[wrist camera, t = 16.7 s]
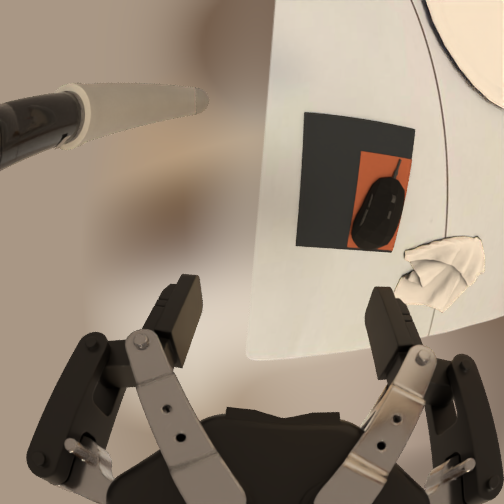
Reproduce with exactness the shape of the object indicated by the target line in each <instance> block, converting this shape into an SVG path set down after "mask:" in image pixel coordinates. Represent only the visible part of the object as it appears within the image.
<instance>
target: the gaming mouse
mask: <svg viewBox="0 0 504 504" xmlns="http://www.w3.org/2000/svg"><path fill="white" fill-rule="evenodd" d="M401 161H402V160H401V159H399V162H398V165H397V168H396V170H395V171H394V175H393V178H392V177H385V178H379V179H378V180H377V181H376V182H375V183H373V184H372V186H371V188H370V189H369V191H368V193H367V195H366V197H365V199H364V202H363V204H362V206H361V208H360V210H359V211H358V213H357V215H356V217H355V220H354V222H353V226H352V232H351V235H352V239H353V242H354V243H355V244H356V245H357V247H358V248H361V249H364V250H367V251H369V250H374V249H378V248H380V247H383V246H385V245H388V243H389V242H390V241H391V239H392V238H393V236H394V234H395V232H396V230H397V227H398V225H399V222H400V218H401V215H402V211H403V206H404V200H405V190H404V188H403V187H402V185H401V183H400V182H399V180H397V179H396V176H397V175H398V170H399V167H400V164H401Z"/></svg>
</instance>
